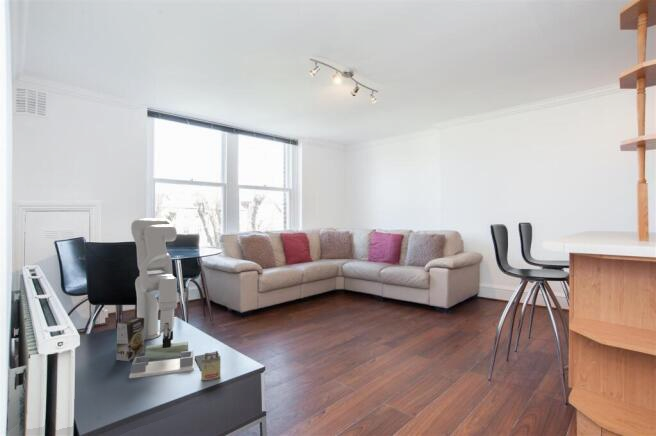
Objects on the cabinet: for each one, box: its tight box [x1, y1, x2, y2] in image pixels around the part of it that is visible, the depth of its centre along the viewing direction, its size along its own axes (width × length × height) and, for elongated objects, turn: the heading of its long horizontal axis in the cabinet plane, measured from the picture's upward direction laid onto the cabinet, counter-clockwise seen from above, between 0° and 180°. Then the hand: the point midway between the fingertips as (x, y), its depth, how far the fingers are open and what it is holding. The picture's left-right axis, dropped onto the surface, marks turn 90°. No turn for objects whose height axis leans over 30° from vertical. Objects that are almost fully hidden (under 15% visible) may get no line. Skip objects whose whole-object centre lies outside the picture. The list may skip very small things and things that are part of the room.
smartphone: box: [194, 353, 205, 372], centre depth 145 cm, size 7×1×15 cm
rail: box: [144, 341, 189, 361], centre depth 151 cm, size 4×17×5 cm, turn 110°
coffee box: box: [116, 316, 145, 362], centre depth 150 cm, size 9×6×16 cm
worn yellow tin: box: [200, 350, 222, 381], centre depth 132 cm, size 7×4×10 cm, turn 119°
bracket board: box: [128, 350, 195, 379], centre depth 139 cm, size 11×23×4 cm, turn 110°
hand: (167, 343), depth 150 cm, fingers open, 9 cm apart
